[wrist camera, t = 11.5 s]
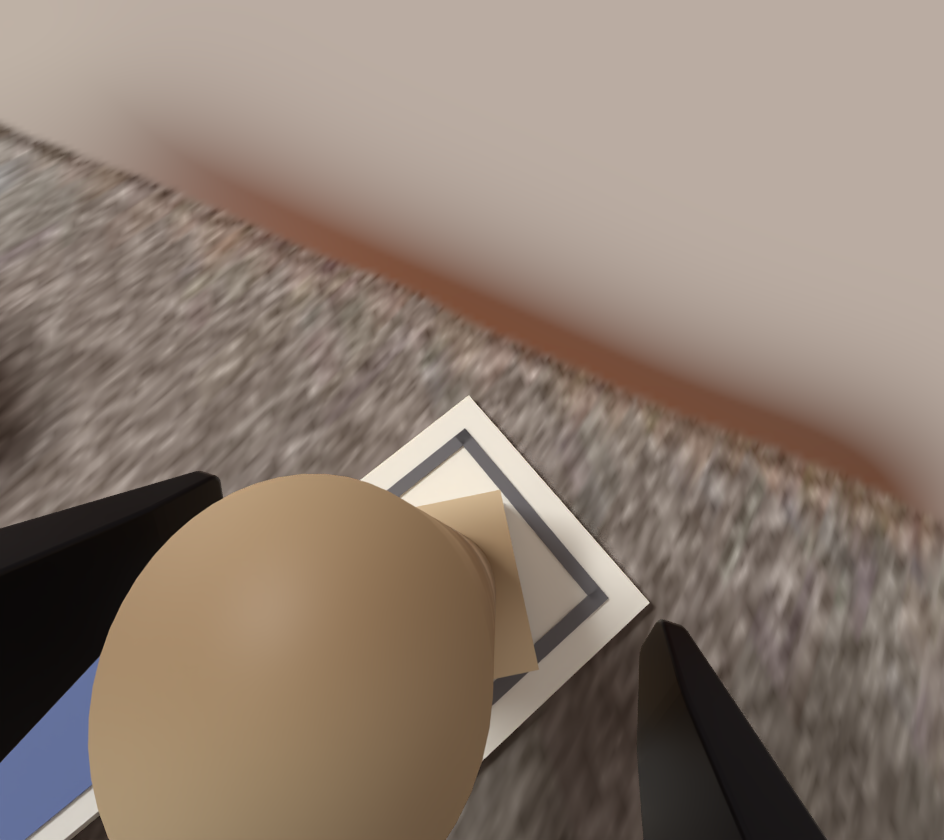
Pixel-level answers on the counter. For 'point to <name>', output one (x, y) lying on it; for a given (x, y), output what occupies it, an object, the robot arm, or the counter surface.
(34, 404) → the counter surface
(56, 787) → the ink pad
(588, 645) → the card
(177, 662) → the stamp
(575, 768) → the counter surface
